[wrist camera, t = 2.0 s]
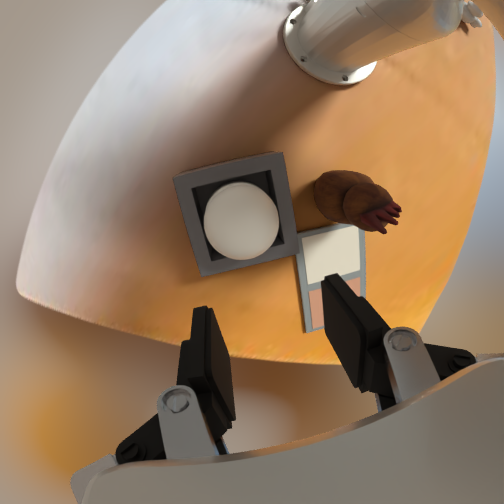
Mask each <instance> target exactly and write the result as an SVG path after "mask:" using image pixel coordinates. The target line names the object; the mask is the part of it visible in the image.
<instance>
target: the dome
mask: <svg viewBox="0 0 504 504" xmlns="http://www.w3.org/2000/svg"><path fill="white" fill-rule="evenodd" d="M204 229H205V233H206V236H207V238H208V240H209V242H210V244H211V245H212V246H213V247H214V249H215V250H217V251H218V252H219V253H221V254H222V255H224V256H226V257H228V258H231V259H236V260H247V259H251V258H255V257H257V256H259V255H261V254H262V253H264V252H265V251H266V250H267V249H268V248H269V247H270V246H271V245H272V244H273V242H274V240H275V238H276V236H277V233H278V229H279V215H278V211H277V209H276V206H275V204H274V203H273V201H272V200H271V198H270V197H269V196H268V195H267V194H266V193H265V192H264V191H263V190H262V189H261V188H259V187H258V186H257V185H255V184H253V183H250V182H247V181H231V182H228V183H225V184H223V185H221V186H220V187H218V188H217V189H216V190H215V191H214V192H213V193H212V195H211V196H210V198H209V200H208V202H207V205H206V210H205V215H204Z"/></svg>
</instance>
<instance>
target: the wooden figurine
mask: <svg viewBox="0 0 504 504" xmlns="http://www.w3.org/2000/svg"><path fill="white" fill-rule="evenodd" d="M314 198H315V202H316V205H317V208H318V209H319V210H320V211H321V213H322V214H323V215H324V216H325V217H326V218H327V219H329V220H331V221H334V222H337V223H341V224H350V225H354V226H356V227H358V228H359V229H361V230H365V231H370V232H373V231H379V232H380V233H382V234H386V233H387V231H386V229H385V228H384V227H385V226H386V225H387V224H388V223H390V224H394V225H398V221H396V220H395V219H394V218H393V217H396V218H399V217H400V215H399V213H398V212H402V211H401V207H400V206H399V205H398V204H396V203H395V202H394V201H393V199H392V197H391V196H390V194H389V193H388V192H387V190H385V189H384V188H383V187H381V186H379V185H377V184H374V182H373V181H372V180H371V178H370V177H368V176H366V175H364V174H361V173H358V172H353V171H345V170H336V171H329V172H325V173H323V174H322V175H321V176H320V177H319V178H318V179H317V181H316V184H315V187H314Z"/></svg>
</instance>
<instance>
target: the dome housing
mask: <svg viewBox="0 0 504 504" xmlns="http://www.w3.org/2000/svg"><path fill="white" fill-rule="evenodd" d="M173 181H174V185H175V189H176V193H177V196H178V200H179V204H180V207H181V211H182V214H183V218H184V221H185V225H186V228H187V232H188V235H189V238H190V242H191V245H192V248H193V252H194V255H195V258H196V261H197V264H198V268H199V271H200V274H201V277H204V276H208V275H213V274H217V273H221V272H225V271H230V270H234V269H238V268H242V267H246V266H251V265H255V264H259V263H263V262H267V261H271V260H275V259H279V258H283V257H288V256H292V255H296V254H300V250H299V243H298V237H297V230H296V224H295V218H294V211H293V205H292V200H291V194H290V188H289V182H288V177H287V171H286V166H285V161H284V156H283V152H274V151H272V152H267V153H262V154H257V155H252V156H247V157H243V158H238V159H233V160H229V161H225V162H220V163H216V164H212V165H208V166H204V167H200V168H196V169H193V170H189V171H185V172H182V173H179V174H177V175H176V176H174V177H173ZM231 181H247V182H250V183H253V184H255V185H257V186H258V187H259V188H261V189H262V190H263V191H264V192H265V193H266V194H267V195H268V196H269V197H270V198H271V200H272V201H273V203H274V204H275V206H276V209H277V211H278V215H279V229H278V233H277V236H276V238H275V240H274V242H273V244H272V245H271V246H270V247H269V248H268V249H267V250H266V251H265V252H264V253H262V254H261V255H259V256H257V257H255V258H251V259H247V260H236V259H231V258H228V257H226V256H224V255H222V254H221V253H219V252H218V251H217V250H215V249H214V247H213V246H212V245H211V244H210V242H209V240H208V238H207V236H206V233H205V229H204V215H205V210H206V205H207V202H208V200H209V198H210V196H211V195H212V193H213V192H214V191H215V190H216V189H217V188H218V187H220V186H221V185H223V184H225V183H228V182H231Z"/></svg>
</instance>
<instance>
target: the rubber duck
mask: <svg viewBox="0 0 504 504" xmlns="http://www.w3.org/2000/svg"><path fill="white" fill-rule="evenodd" d="M482 15H483V12H482V11H481V10H480V9H479V8H478V7H477V5H476V4H474V3H473V2H471V1H469V2H468V3H466V2H464V7H463V14H462V19H461V20H462V21H463V22H465V23H470V24H471V26H472V27H474V28H475V27H482V23H481V22H480V20H479V19H478V18H477V17H479V18H480V17H482Z"/></svg>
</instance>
